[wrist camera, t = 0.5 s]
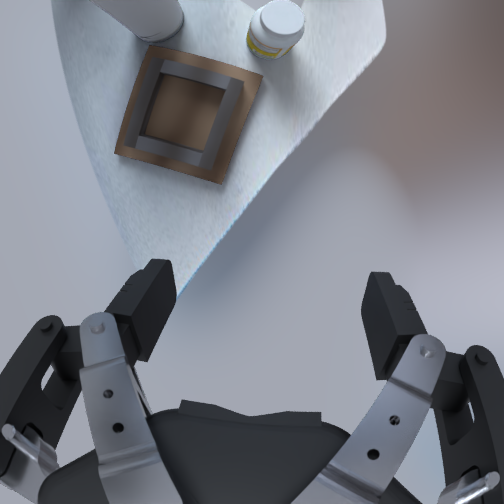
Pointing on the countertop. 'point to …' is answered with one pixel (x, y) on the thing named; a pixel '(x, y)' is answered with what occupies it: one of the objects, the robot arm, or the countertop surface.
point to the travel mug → (146, 17)
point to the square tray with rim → (186, 113)
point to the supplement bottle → (275, 29)
